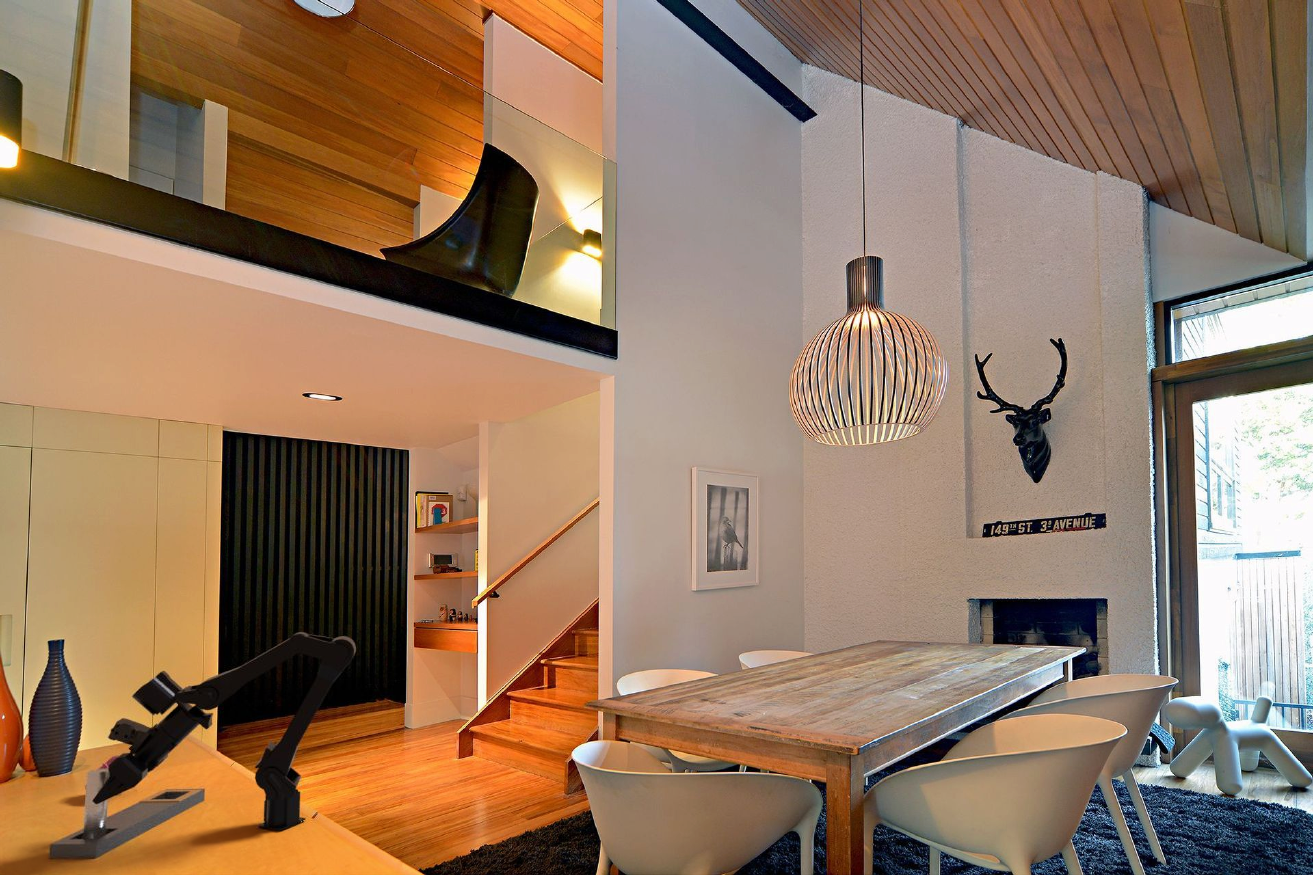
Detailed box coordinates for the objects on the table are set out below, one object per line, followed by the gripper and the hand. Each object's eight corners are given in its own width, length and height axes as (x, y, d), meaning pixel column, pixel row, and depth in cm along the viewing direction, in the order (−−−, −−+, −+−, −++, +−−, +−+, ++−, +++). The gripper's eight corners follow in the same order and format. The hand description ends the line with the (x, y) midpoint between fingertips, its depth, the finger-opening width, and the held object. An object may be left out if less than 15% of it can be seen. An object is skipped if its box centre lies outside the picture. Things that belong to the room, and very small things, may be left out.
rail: (96, 857, 147) (97, 842, 148) (49, 858, 148) (50, 842, 148) (204, 800, 180) (204, 787, 180) (165, 800, 180) (166, 788, 181)
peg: (109, 845, 154) (113, 769, 155) (90, 852, 150) (94, 774, 152) (97, 842, 155) (101, 767, 157) (77, 849, 152) (82, 772, 153)
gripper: (154, 695, 167) (88, 755, 162) (125, 712, 149) (50, 780, 144) (194, 731, 168) (130, 791, 163) (170, 752, 150) (97, 821, 146)
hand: (103, 795), depth 154 cm, fingers open, 9 cm apart
